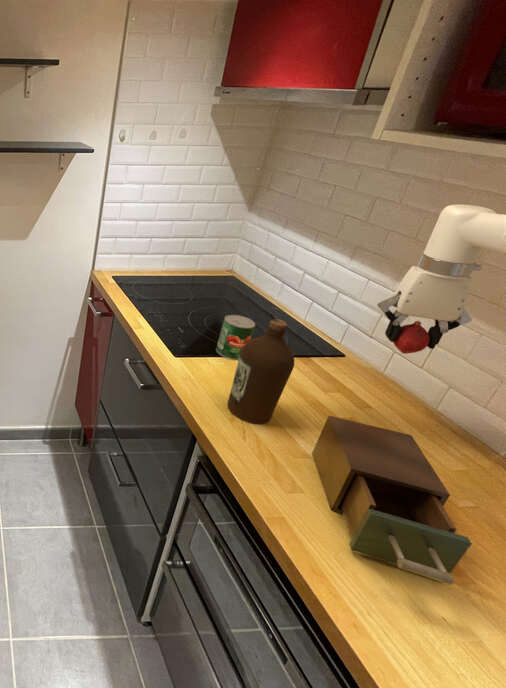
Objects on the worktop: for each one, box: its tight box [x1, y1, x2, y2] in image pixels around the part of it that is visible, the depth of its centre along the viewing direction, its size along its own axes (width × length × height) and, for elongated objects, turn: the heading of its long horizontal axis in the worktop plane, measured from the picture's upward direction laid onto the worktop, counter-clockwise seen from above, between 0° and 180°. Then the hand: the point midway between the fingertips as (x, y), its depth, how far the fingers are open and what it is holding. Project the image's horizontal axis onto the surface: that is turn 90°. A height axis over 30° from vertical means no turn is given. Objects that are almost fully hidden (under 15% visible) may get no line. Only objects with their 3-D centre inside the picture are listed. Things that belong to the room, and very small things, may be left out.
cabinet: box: [311, 415, 451, 514], centre depth 86 cm, size 16×14×11 cm
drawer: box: [340, 473, 472, 585], centre depth 75 cm, size 20×12×9 cm, turn 156°
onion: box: [392, 320, 430, 355], centre depth 98 cm, size 6×6×8 cm
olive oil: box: [227, 318, 295, 425], centre depth 104 cm, size 11×11×25 cm
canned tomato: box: [215, 314, 256, 361], centre depth 131 cm, size 8×8×11 cm
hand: (409, 341), depth 98 cm, fingers closed on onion, 5 cm apart
